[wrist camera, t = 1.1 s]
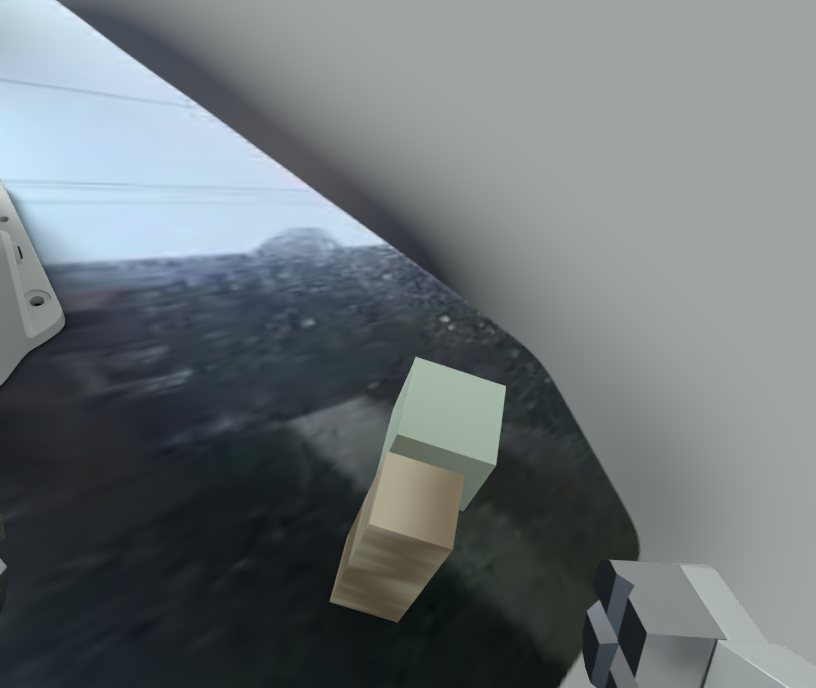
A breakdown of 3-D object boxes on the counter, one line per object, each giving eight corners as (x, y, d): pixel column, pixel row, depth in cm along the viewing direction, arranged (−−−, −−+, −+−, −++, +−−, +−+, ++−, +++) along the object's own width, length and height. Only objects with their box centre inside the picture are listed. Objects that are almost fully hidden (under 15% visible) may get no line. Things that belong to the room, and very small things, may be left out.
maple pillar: (329, 601, 39) (369, 523, 32) (347, 537, 42) (387, 451, 35) (397, 622, 40) (452, 549, 32) (411, 556, 42) (464, 475, 35)
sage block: (373, 483, 45) (397, 434, 40) (392, 409, 49) (416, 356, 44) (463, 511, 45) (496, 465, 41) (474, 436, 49) (506, 386, 45)
